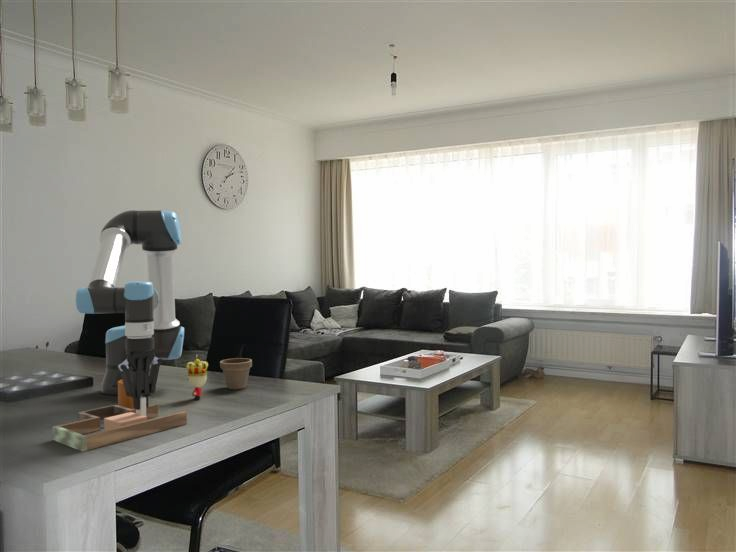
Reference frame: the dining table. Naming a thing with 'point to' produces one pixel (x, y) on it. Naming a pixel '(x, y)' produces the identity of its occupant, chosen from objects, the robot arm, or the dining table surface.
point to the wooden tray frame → (95, 421)
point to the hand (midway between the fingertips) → (141, 420)
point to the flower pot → (236, 372)
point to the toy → (197, 376)
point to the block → (123, 420)
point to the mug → (124, 396)
